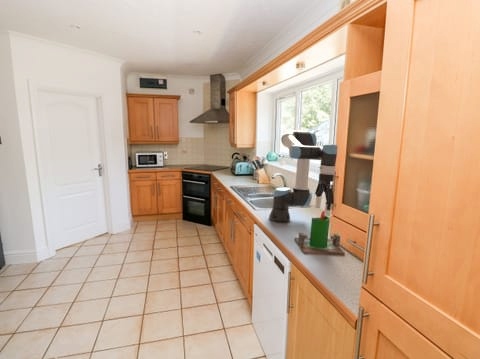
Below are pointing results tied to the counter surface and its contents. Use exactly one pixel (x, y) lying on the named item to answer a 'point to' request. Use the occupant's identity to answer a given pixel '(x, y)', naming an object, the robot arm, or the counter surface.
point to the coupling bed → (329, 250)
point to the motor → (319, 231)
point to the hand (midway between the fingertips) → (322, 211)
